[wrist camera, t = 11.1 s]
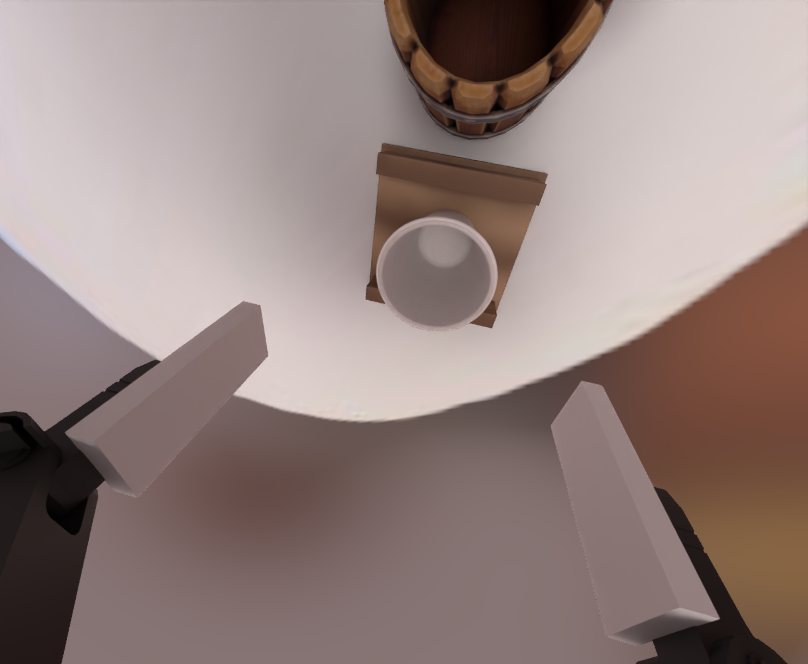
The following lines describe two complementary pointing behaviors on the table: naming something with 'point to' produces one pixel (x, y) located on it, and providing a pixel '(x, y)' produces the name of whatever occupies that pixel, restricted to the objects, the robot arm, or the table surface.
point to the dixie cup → (437, 272)
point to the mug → (489, 55)
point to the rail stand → (455, 205)
